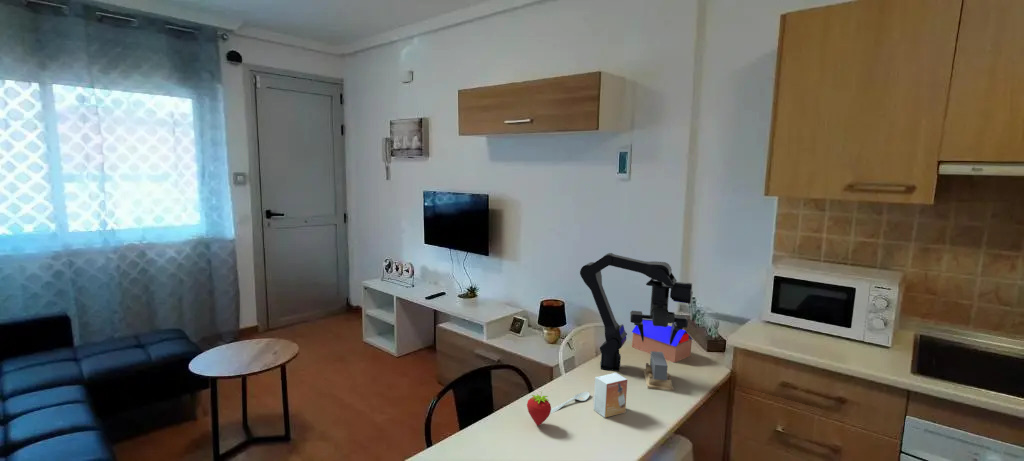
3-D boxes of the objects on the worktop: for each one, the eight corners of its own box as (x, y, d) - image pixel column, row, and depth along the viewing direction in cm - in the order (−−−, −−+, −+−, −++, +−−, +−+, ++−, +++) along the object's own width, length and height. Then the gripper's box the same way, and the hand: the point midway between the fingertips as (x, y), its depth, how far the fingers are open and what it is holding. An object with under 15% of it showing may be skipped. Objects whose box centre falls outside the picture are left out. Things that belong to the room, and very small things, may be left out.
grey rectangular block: (654, 379, 160) (655, 364, 159) (650, 364, 171) (650, 351, 171) (666, 380, 159) (667, 365, 158) (661, 365, 171) (662, 352, 170)
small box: (604, 418, 140) (606, 384, 138) (592, 409, 145) (594, 376, 143) (626, 412, 143) (628, 379, 142) (614, 404, 148) (615, 371, 147)
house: (648, 341, 204) (649, 314, 202) (691, 356, 189) (694, 327, 187) (630, 347, 196) (632, 319, 195) (674, 363, 181) (676, 333, 179)
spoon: (593, 399, 152) (593, 394, 152) (546, 419, 139) (546, 414, 139) (583, 394, 155) (583, 389, 155) (536, 413, 142) (536, 408, 142)
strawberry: (536, 416, 140) (537, 383, 139) (555, 426, 135) (556, 392, 133) (521, 422, 136) (522, 389, 135) (540, 434, 131) (541, 399, 129)
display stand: (647, 388, 159) (648, 378, 159) (643, 370, 173) (644, 361, 173) (672, 390, 158) (673, 380, 158) (666, 373, 172) (667, 363, 171)
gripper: (632, 303, 159) (629, 348, 161) (692, 308, 156) (688, 354, 158) (631, 294, 170) (628, 337, 172) (686, 299, 167) (683, 342, 169)
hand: (656, 342), depth 167 cm, fingers open, 9 cm apart
